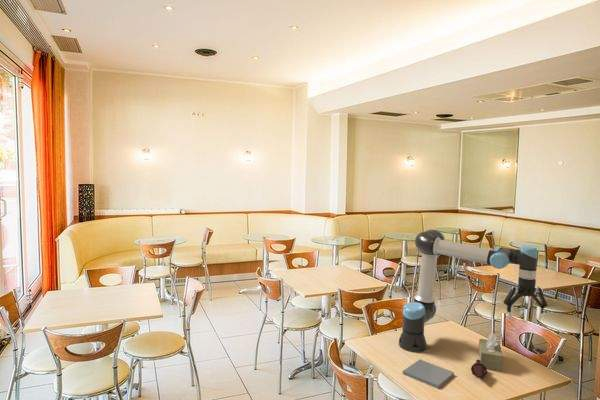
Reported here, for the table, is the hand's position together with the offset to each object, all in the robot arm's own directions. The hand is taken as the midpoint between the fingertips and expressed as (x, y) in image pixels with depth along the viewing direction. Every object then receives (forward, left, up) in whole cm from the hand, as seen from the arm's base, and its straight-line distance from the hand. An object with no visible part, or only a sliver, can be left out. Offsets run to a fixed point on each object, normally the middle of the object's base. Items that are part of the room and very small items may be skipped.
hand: (524, 319), depth 200 cm
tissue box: (-13, -6, -25) cm, 29 cm away
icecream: (-11, -25, -25) cm, 38 cm away
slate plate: (-29, -42, -25) cm, 57 cm away
